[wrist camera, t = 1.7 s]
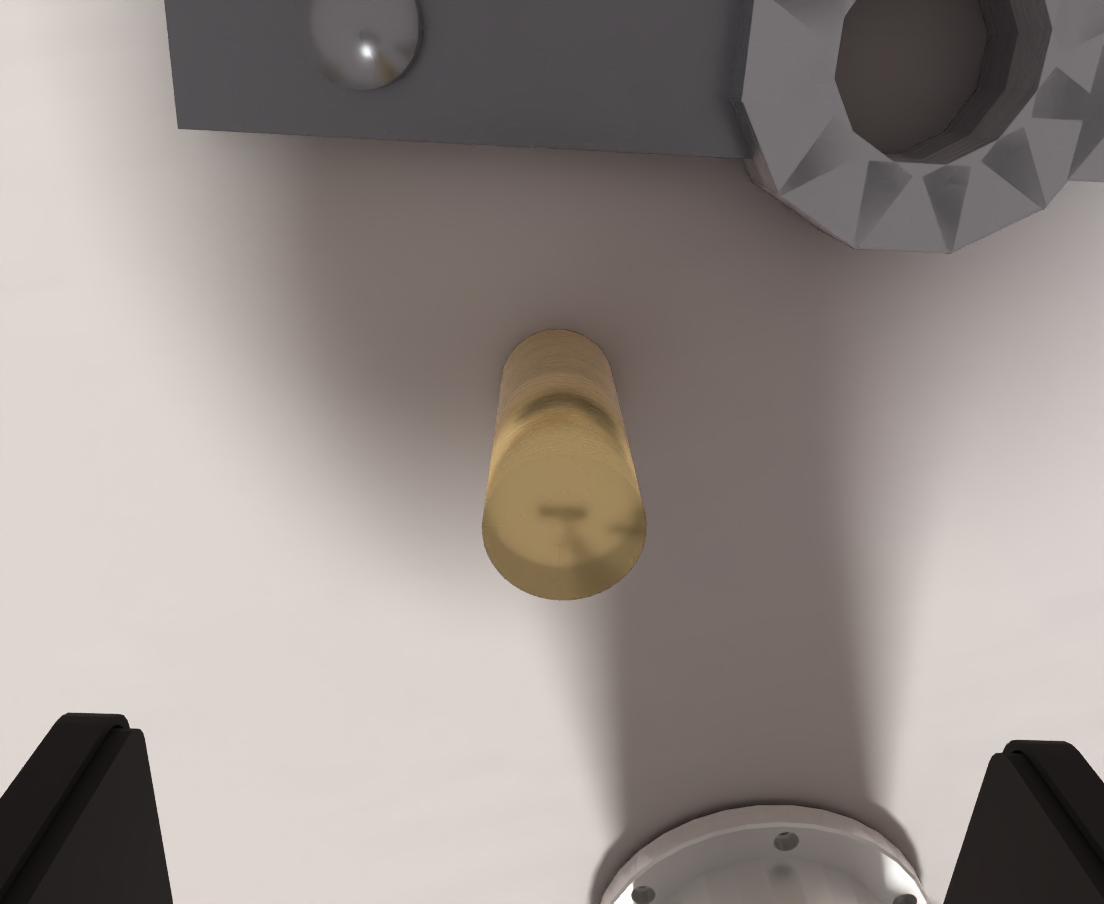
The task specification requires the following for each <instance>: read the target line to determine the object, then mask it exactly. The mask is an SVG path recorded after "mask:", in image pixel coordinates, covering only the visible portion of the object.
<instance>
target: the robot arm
mask: <svg viewBox="0 0 1104 904" xmlns="http://www.w3.org/2000/svg"><path fill="white" fill-rule="evenodd" d="M0 904H173V900H172V894H171V888H170V882H169V877H168V871H167V865H166V859H165V853H164V848H163V842H162V836H161V830H160V824H159V818H158V813H157V807H156V801H155V795H154V789H153V784H152V778H151V772H150V766H149V760H148V755H147V749H146V743H145V738H144V734H143V732H142V731H141V730H140V729H131V728H130V727H129V724H128V720H127V719H126V718H125V716H124V715H120V714H96V713H67V714H64V715H62V716H61V717H60V718H59V719H58V720H57V721H56V723H55V724H54V725H53V727H52V728H51V729H50V731H49V732H48V734H47V735H46V736H45V738H44V739H43V740H42V742H41V743H40V745H39V746H38V747H37V749H36V750H35V751H34V753H33V754H32V756H31V757H30V758H29V760H28V761H27V762H26V764H25V765H24V767H23V768H22V769H21V771H20V772H19V774H18V775H17V776H16V778H15V779H14V780H13V782H12V783H11V785H10V786H9V787H8V789H7V790H6V791H5V793H4V794H3V796H2V797H1V798H0ZM600 904H929V902H928V898H927V896H926V894H925V892H924V890H923V888H922V886H921V883H920V881H919V879H918V877H917V875H916V873H915V871H914V869H913V867H912V866H911V865H910V863H909V862H908V861H907V859H906V858H905V857H904V855H903V854H902V853H901V851H900V850H899V849H898V848H897V847H895V846H894V845H893V844H892V843H891V842H889V841H888V840H887V839H886V838H885V837H883V836H882V835H881V834H880V833H879V832H877V831H875V830H873V829H871V828H869V827H867V826H865V825H864V824H862V823H860V822H858V821H856V820H854V819H852V818H848V817H845V816H842V815H839V814H836V813H833V812H829V811H826V810H822V809H815V808H808V807H802V806H795V805H756V806H749V807H743V808H736V809H729V810H724V811H720V812H717V813H714V814H710V815H707V816H704V817H701V818H697V819H694V820H691V821H689V822H687V823H685V824H683V825H681V826H679V827H677V828H675V829H672V830H670V831H668V832H666V833H664V834H662V835H661V836H659V837H658V838H657V839H655V840H654V841H652V842H651V843H649V844H648V845H646V846H645V847H644V848H642V849H641V850H639V851H638V852H637V853H636V854H635V855H634V856H633V857H632V858H631V859H630V860H629V861H628V862H627V863H626V864H625V865H624V866H623V867H622V868H621V869H620V870H619V871H618V872H617V874H616V875H615V877H614V878H613V880H612V881H611V883H610V885H609V886H608V888H607V889H606V891H605V892H604V894H603V897H602V900H601V902H600ZM943 904H1104V783H1103V781H1102V780H1101V779H1100V778H1099V776H1098V775H1097V774H1096V772H1095V771H1094V770H1093V769H1092V767H1091V766H1090V765H1089V764H1088V762H1087V761H1086V760H1085V758H1084V757H1083V756H1082V755H1081V753H1080V752H1079V751H1078V750H1077V749H1076V748H1075V747H1074V746H1073V745H1072V744H1070V743H1067V742H1065V741H1039V740H1012V741H1010V742H1009V743H1008V744H1007V745H1006V746H1005V748H1004V750H1003V752H1002V753H996V754H994V755H993V756H992V757H991V759H990V761H989V764H988V767H987V770H986V773H985V776H984V780H983V783H982V786H981V789H980V792H979V795H978V798H977V801H976V804H975V807H974V810H973V814H972V817H971V820H970V823H969V826H968V829H967V832H966V835H965V838H964V841H963V844H962V848H961V851H960V854H959V857H958V860H957V863H956V866H955V869H954V872H953V875H952V878H951V882H950V885H949V888H948V891H947V894H946V897H945V900H944V903H943Z"/></svg>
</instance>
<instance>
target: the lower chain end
mask: <svg viewBox="0 0 1104 904" xmlns="http://www.w3.org/2000/svg"><path fill="white" fill-rule="evenodd" d="M164 2H165V11H166V20H167V30H168V39H169V49H170V58H171V67H172V77H173V86H174V96H175V105H176V114H177V124H178V129H193V130H212V131H231V132H250V133H269V134H288V135H307V136H326V137H345V138H364V139H383V140H402V141H421V142H440V143H459V144H478V145H497V146H516V147H535V148H554V149H573V150H592V151H611V152H630V153H649V154H668V155H687V156H706V157H725V158H742V159H743V161H744V164H745V166H746V169H747V171H748V174H749V176H750V178H751V179H750V180H751V181H752V183H754V184H756V185H758V186H760V187H761V188H762V189H764V190H765V191H767V192H768V193H769V194H771V195H772V196H774V197H775V198H776V199H778V200H779V201H781V202H782V203H783V204H785V205H786V206H788V207H789V208H790V209H792V210H793V211H795V212H796V213H797V214H799V215H800V216H802V217H803V218H804V219H806V220H807V221H809V222H810V223H811V224H813V225H814V226H816V227H817V229H818V230H820V231H822V232H824V233H826V234H828V235H829V236H831V237H833V238H834V236H832V235H831V234H829V233H828V232H827V231H825V230H824V229H822V228H821V227H820V226H818V225H817V224H815V223H814V222H813V221H811V220H810V219H808V218H807V217H806V216H804V215H803V214H801V213H800V212H799V211H797V210H796V209H794V208H793V207H792V206H790V205H789V204H787V203H786V202H785V201H783V200H782V199H780V198H779V197H778V196H776V195H775V194H773V193H772V192H771V191H769V190H766V189H765V187H764V186H763V182H762V180H761V177H760V175H759V172H758V170H757V167H756V165H755V162H754V160H753V157H752V155H751V152H750V150H749V147H748V145H747V142H746V140H745V137H744V135H743V132H742V130H741V127H740V125H739V122H738V120H737V117H736V115H735V112H734V110H733V107H732V105H731V103H730V101H729V98H728V96H729V93H730V84H731V76H732V67H733V59H734V51H735V42H736V34H737V25H738V17H739V9H740V0H164ZM979 3H980V6H981V10H982V13H983V17H984V20H985V24H986V27H987V31H988V34H989V36H988V41H987V45H986V50H985V55H984V59H983V64H982V68H981V73H980V77H979V82H978V87H977V89H976V91H975V92H974V93H973V94H972V96H971V97H970V98H969V100H968V101H967V102H966V104H965V105H964V106H963V107H962V109H961V110H960V111H959V113H958V114H957V115H956V117H955V118H954V119H953V120H952V122H951V123H950V124H949V126H948V127H947V128H946V130H945V131H944V132H942V133H940V134H938V135H936V136H934V137H932V138H930V139H928V140H926V141H924V142H922V143H920V144H918V145H916V146H914V147H912V148H910V149H908V150H906V151H904V152H902V153H900V154H884V155H885V156H887V157H888V158H907V159H923V158H925V157H927V156H929V155H931V154H933V153H935V152H937V151H939V150H941V149H943V148H945V147H947V146H949V145H951V144H953V143H955V142H957V141H959V140H961V139H963V138H965V137H967V136H969V135H970V134H971V133H972V131H973V130H974V129H975V128H976V126H977V125H978V124H979V122H980V121H981V120H982V119H983V117H984V116H985V115H986V113H987V112H988V111H989V110H990V108H991V107H992V106H993V104H994V103H995V102H996V101H997V99H998V98H999V97H1000V96H1001V94H1002V93H1003V92H1004V90H1005V89H1006V85H1007V80H1008V76H1009V72H1010V67H1011V63H1012V59H1013V54H1014V50H1015V46H1016V41H1017V37H1018V33H1019V32H1018V29H1017V25H1016V21H1015V18H1014V14H1013V10H1012V7H1011V3H1010V0H979Z"/></svg>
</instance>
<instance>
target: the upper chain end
mask: <svg viewBox="0 0 1104 904" xmlns="http://www.w3.org/2000/svg"><path fill="white" fill-rule="evenodd" d="M855 1H856V0H740V9H739V17H738V25H737V34H736V42H735V51H734V59H733V67H732V76H731V84H730V93H729V96H728V98H729V101H730V103H731V105H732V107H733V110H734V112H735V115H736V117H737V120H738V122H739V125H740V127H741V130H742V132H743V135H744V137H745V140H746V142H747V145H748V147H749V150H750V152H751V155H752V157H753V160H754V162H755V165H756V167H757V170H758V172H759V175H760V177H761V180H762V182H763V186H764V187H765V189H766V190H769V191H771V192H772V193H773V194H775V195H776V196H778V197H779V198H780V199H782V200H783V201H785V202H786V203H787V204H789V205H790V206H792V207H793V208H794V209H796V210H797V211H799V212H800V213H801V214H803V215H804V216H806V217H807V218H808V219H810V220H811V221H813V222H814V223H815V224H817V225H818V226H820V227H821V228H822V229H824V230H825V231H827V232H828V233H829V234H831V235H832V236H834V238H835V239H837V240H839V241H840V242H842V243H844V244H846V245H848V246H850V247H851V248H854V249H856V250H857V249H875V250H895V251H915V252H935V253H947V254H950V253H952V252H954V251H956V250H958V249H960V248H962V247H964V246H966V245H969V244H971V243H973V242H975V241H977V240H979V239H981V238H983V237H985V236H987V235H989V234H992V233H994V232H996V231H998V230H1000V229H1002V228H1004V227H1006V226H1008V225H1010V224H1013V223H1015V222H1017V221H1019V220H1021V219H1023V218H1025V217H1027V216H1029V215H1031V214H1033V213H1036V212H1038V211H1040V210H1044V208H1046V207H1047V205H1048V204H1049V202H1050V201H1051V200H1052V199H1053V198H1054V196H1055V195H1056V194H1057V193H1058V192H1059V191H1060V189H1061V188H1062V187H1063V186H1064V185H1065V183H1066V182H1067V181H1068V180H1073V181H1092V182H1104V0H1010V3H1011V7H1012V10H1013V14H1014V18H1015V21H1016V25H1017V29H1018V32H1019V33H1018V37H1017V41H1016V46H1015V50H1014V54H1013V59H1012V63H1011V67H1010V72H1009V76H1008V80H1007V85H1006V89H1005V90H1004V92H1003V93H1002V94H1001V96H1000V97H999V98H998V99H997V101H996V102H995V103H994V104H993V106H992V107H991V108H990V110H989V111H988V112H987V113H986V115H985V116H984V117H983V119H982V120H981V121H980V122H979V124H978V125H977V126H976V128H975V129H974V130H973V131H972V133H971V134H970V135H969V136H967V137H965V138H963V139H961V140H959V141H957V142H955V143H953V144H951V145H949V146H947V147H945V148H943V149H941V150H939V151H937V152H935V153H933V154H931V155H929V156H927V157H925V158H923V159H907V158H888V157H887V156H885V155H884V154H883V153H881V152H880V151H879V150H877V149H876V148H875V147H873V146H872V145H871V144H869V143H868V142H867V141H865V140H864V139H863V138H861V137H860V136H859V135H858V134H856V133H855V132H854V131H853V130H852V127H851V124H850V121H849V118H848V116H847V113H846V110H845V107H844V104H843V102H842V99H841V96H840V93H839V90H838V88H837V85H836V82H835V79H834V78H835V72H836V65H837V59H838V53H839V47H840V40H841V34H842V28H843V22H844V17H845V15H846V14H847V12H848V11H849V10H850V8H851V7H852V5H853V4H854V2H855Z"/></svg>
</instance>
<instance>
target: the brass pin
mask: <svg viewBox="0 0 1104 904" xmlns="http://www.w3.org/2000/svg"><path fill="white" fill-rule="evenodd" d="M482 534H483V541H484V546H485V548H486V551H487V554H488V556H489V558H490V560H491V562H492V564H493V565H494V566H495V568H496V569H497V571H498V572H499V573H500V574H501V575H502V576H503V577H504V578H505V579H506V580H508V581H509V582H510V583H511V584H512V585H514V586H516V587H517V588H519V589H520V590H522V591H525V592H527V593H529V594H531V595H534V596H537V597H541V598H546V599H552V600H575V599H581V598H585V597H589V596H592V595H595V594H598V593H600V592H602V591H604V590H606V589H608V588H610V587H611V586H613V585H614V584H616V583H617V582H619V581H620V580H621V579H622V578H623V577H624V576H625V575H626V574H627V573H628V572H629V571H630V570H631V569H632V567H633V566H634V564H635V563H636V561H637V559H638V557H639V555H640V553H641V551H642V548H643V545H644V542H645V536H646V518H645V512H644V507H643V503H642V499H641V495H640V490H639V486H638V482H637V478H636V473H635V469H634V465H633V461H632V457H631V452H630V448H629V444H628V440H627V435H626V431H625V427H624V423H623V418H622V414H621V410H620V406H619V401H618V397H617V393H616V389H615V384H614V380H613V376H612V372H611V368H610V365H609V362H608V360H607V358H606V356H605V355H604V353H603V352H602V350H601V349H600V348H599V347H598V346H597V345H596V344H595V343H594V342H593V341H591V340H590V339H588V338H587V337H585V336H583V335H581V334H579V333H576V332H573V331H569V330H561V329H555V330H546V331H542V332H539V333H536V334H534V335H531V336H530V337H528V338H526V339H525V340H523V341H522V342H521V343H520V344H519V345H518V346H517V347H516V348H515V349H514V350H513V351H512V353H511V354H510V355H509V357H508V359H507V361H506V363H505V366H504V369H503V373H502V380H501V388H500V395H499V403H498V410H497V417H496V425H495V432H494V440H493V447H492V455H491V462H490V469H489V477H488V484H487V492H486V499H485V506H484V514H483V523H482Z"/></svg>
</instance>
